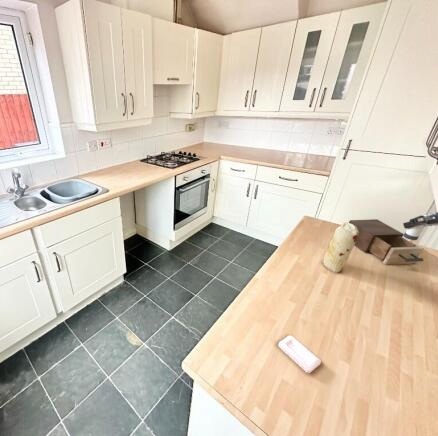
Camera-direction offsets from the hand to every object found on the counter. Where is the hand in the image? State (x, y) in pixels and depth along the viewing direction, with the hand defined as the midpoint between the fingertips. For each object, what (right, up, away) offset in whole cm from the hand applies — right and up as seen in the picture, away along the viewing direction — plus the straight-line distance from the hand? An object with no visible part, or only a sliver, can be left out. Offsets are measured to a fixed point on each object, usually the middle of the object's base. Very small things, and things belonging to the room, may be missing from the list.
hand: (410, 225), depth 91 cm
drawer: (+6, -14, +13) cm, 20 cm away
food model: (-22, -18, +10) cm, 30 cm away
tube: (0, -5, 0) cm, 4 cm away
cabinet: (+5, -9, +24) cm, 26 cm away
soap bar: (-57, -36, -23) cm, 71 cm away
